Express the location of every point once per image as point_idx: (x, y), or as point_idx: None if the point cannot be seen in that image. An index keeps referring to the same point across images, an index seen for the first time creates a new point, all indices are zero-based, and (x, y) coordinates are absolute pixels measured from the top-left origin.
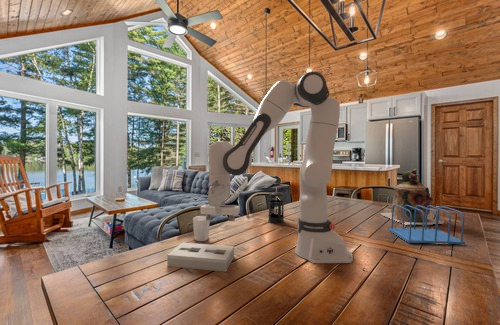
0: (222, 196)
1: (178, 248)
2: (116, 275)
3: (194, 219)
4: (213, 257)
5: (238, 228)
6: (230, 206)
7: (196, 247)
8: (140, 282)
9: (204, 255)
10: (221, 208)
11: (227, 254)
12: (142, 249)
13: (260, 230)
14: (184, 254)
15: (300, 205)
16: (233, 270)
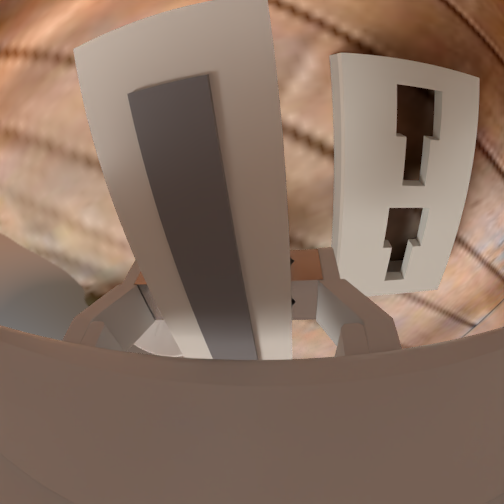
0: (315, 474)
1: (393, 284)
2: (446, 326)
3: (166, 346)
4: (468, 131)
5: (28, 177)
6: (191, 173)
7: (383, 230)
8: (482, 275)
9: (454, 172)
10: (290, 278)
11: (438, 74)
12: (321, 357)
13: (9, 87)
14: (442, 245)
15: None
16: (439, 46)
